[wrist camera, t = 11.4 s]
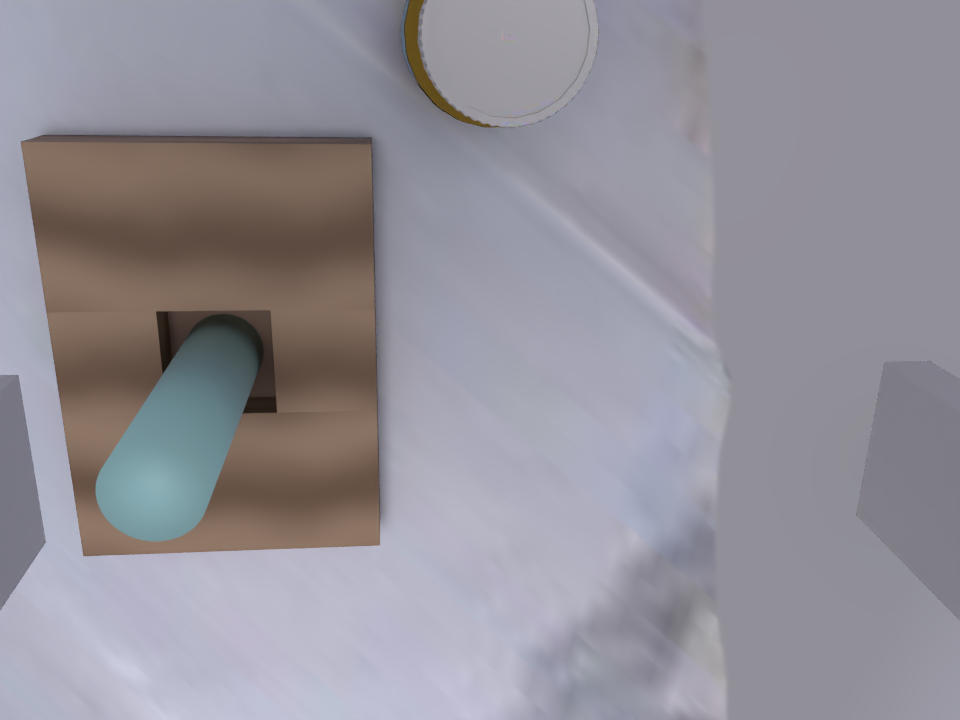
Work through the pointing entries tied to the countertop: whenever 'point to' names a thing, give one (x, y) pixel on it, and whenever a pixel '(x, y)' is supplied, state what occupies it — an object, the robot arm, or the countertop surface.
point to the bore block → (209, 291)
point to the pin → (182, 433)
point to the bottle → (500, 56)
